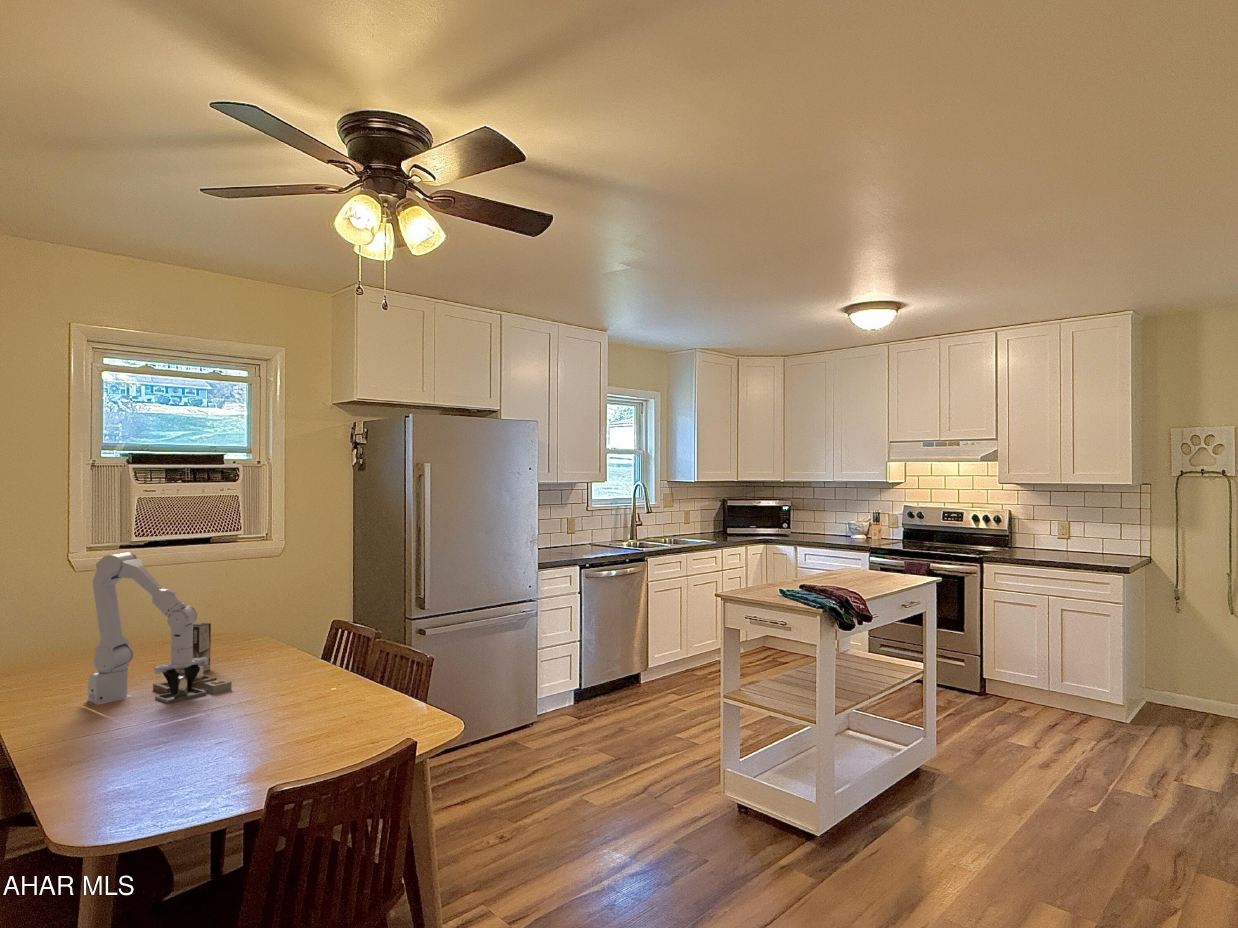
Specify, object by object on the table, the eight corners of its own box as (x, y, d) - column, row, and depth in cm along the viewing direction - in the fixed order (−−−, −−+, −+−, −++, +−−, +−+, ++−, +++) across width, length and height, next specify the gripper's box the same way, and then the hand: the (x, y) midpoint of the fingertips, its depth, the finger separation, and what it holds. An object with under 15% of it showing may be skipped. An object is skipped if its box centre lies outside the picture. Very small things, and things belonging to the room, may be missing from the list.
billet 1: (177, 699, 219) (178, 679, 220) (171, 697, 221) (172, 677, 222) (190, 696, 222) (190, 676, 223) (184, 694, 224) (184, 675, 225)
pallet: (166, 696, 224) (167, 688, 224) (153, 691, 229) (153, 683, 229) (216, 685, 236) (216, 677, 236) (202, 680, 241) (202, 673, 241)
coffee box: (211, 668, 256) (212, 622, 257) (198, 673, 250) (199, 626, 250) (186, 668, 257) (187, 622, 258) (174, 672, 251) (174, 625, 251)
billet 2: (193, 688, 233) (194, 669, 233) (188, 686, 235) (188, 667, 235) (205, 685, 236) (205, 667, 236) (199, 683, 238) (199, 665, 238)
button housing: (213, 695, 225) (213, 685, 225) (203, 692, 228) (204, 682, 228) (231, 691, 230) (231, 681, 230) (222, 688, 233) (222, 678, 233)
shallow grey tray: (168, 705, 215) (168, 700, 215) (155, 700, 220) (155, 695, 220) (206, 696, 224) (206, 691, 224) (193, 692, 229) (193, 687, 229)
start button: (215, 691, 227) (216, 683, 227) (211, 689, 229) (212, 682, 229) (223, 689, 229) (223, 681, 229) (219, 687, 231) (219, 680, 231)
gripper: (162, 654, 214) (161, 700, 214) (213, 644, 226) (212, 688, 226) (151, 650, 218) (150, 696, 218) (201, 641, 230) (200, 685, 230)
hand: (181, 692), depth 222 cm, fingers closed on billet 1, 4 cm apart
